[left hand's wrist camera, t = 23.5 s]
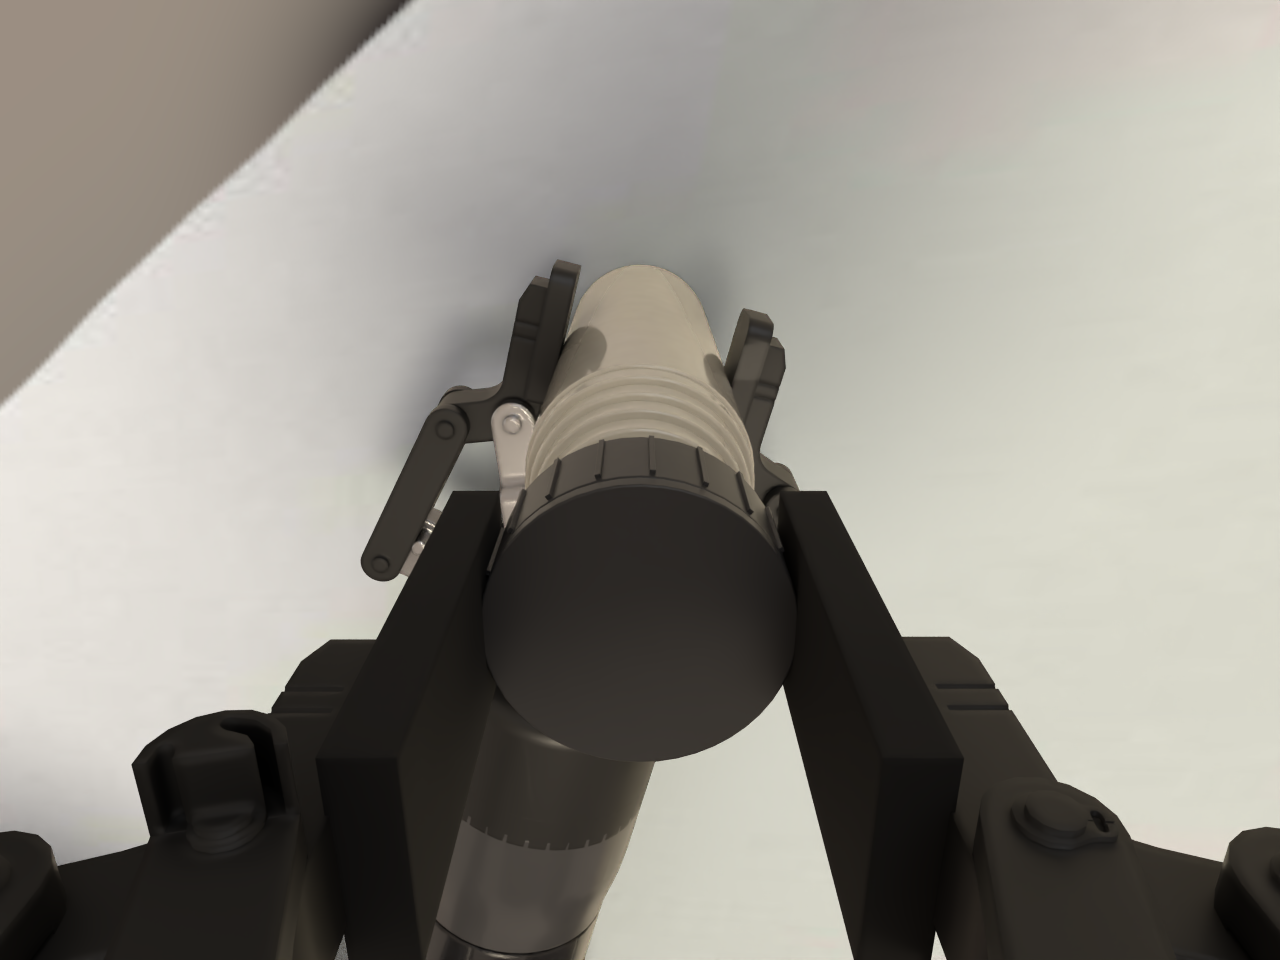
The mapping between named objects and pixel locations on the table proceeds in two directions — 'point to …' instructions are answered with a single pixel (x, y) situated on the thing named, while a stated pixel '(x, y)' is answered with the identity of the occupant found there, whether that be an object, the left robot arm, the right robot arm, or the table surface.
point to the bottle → (639, 375)
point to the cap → (639, 602)
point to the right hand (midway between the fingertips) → (662, 293)
